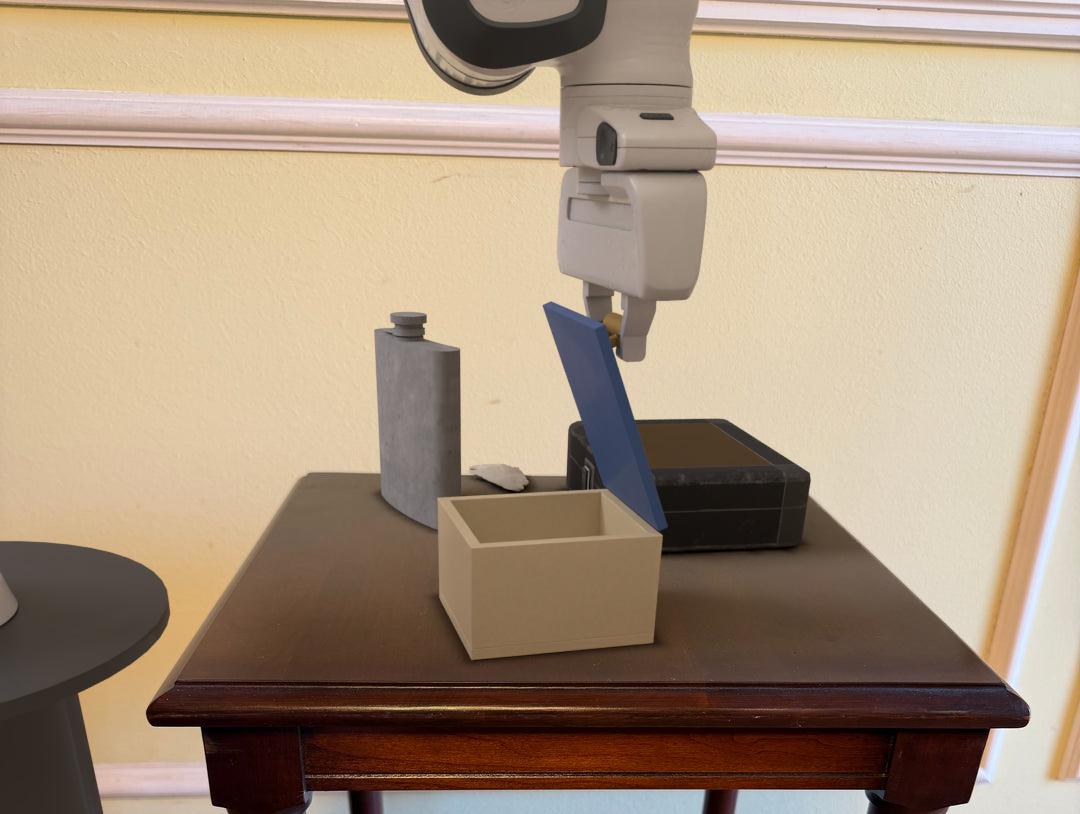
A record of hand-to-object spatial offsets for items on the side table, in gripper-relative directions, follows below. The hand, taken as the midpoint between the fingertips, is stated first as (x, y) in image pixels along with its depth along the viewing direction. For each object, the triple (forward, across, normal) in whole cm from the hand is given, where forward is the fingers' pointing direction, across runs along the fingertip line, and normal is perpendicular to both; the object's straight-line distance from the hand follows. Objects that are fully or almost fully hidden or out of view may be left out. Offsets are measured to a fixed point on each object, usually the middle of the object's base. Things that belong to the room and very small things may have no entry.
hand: (615, 353), depth 76 cm
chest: (+21, 0, -6) cm, 22 cm away
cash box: (+22, -25, +16) cm, 37 cm away
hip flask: (+21, -32, -10) cm, 40 cm away
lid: (+5, 0, -1) cm, 5 cm away
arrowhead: (+21, -41, +2) cm, 46 cm away
